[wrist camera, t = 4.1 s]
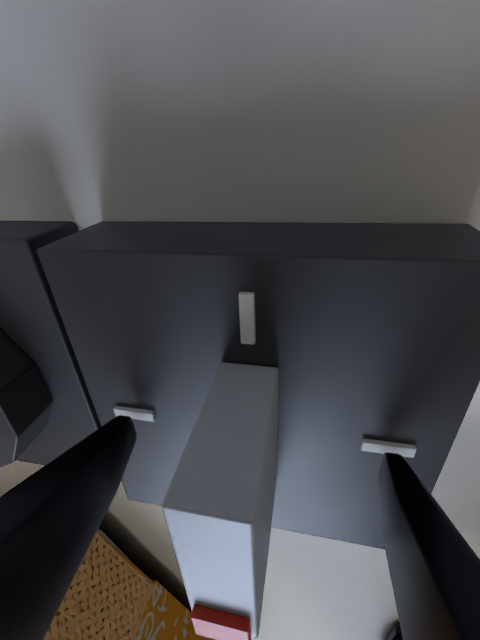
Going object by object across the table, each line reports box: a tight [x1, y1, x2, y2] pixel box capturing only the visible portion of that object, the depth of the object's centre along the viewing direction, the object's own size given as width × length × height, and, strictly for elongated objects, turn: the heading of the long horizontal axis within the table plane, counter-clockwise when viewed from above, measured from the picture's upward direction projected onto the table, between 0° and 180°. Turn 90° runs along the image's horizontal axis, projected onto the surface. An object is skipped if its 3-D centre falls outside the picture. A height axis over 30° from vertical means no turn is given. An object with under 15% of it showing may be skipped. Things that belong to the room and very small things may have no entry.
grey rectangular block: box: [162, 362, 279, 640], centre depth 8 cm, size 5×2×4 cm, turn 2°
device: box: [43, 529, 216, 640], centre depth 24 cm, size 23×8×30 cm
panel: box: [37, 221, 480, 549], centre depth 11 cm, size 11×11×3 cm
